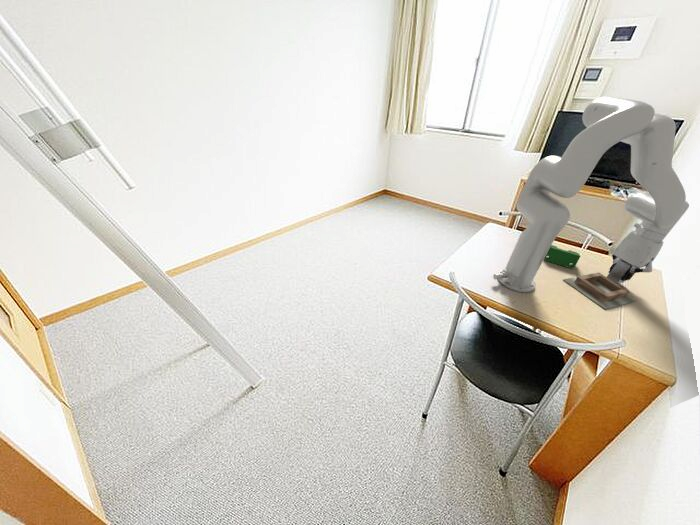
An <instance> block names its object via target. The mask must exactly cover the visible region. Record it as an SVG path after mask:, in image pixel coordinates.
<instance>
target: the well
mask: <svg viewBox="0 0 700 525" xmlns="http://www.w3.org/2000/svg"><path fill="white" fill-rule="evenodd" d="M563 282H565V283H566V284H567V285H569V286H571V287H572V288H573V287H574V288H573V289H574V290H576V289H577V290H578V291H577V290H576V291H577V292H578V293H580V294H582V295H583V296H585V297H586V298H587V299H589V300H590V301H591V302H593V303H594V304H596V305H598V306H599V307H600V308H602V309H604V310H608V309H613V308H615V307H619V306H623V305H628V304H631V303H635V302H637V301H638V299H636V298H634V297H633V296H631V295H630V294H629V293H630V290H628V289H626V288H625V287H624V286H622V285H620V284H619V283H618V284H617V283H615V282H614V281H612V280H610V279H609V278H607V276H605V275H604V274H602V273H601V272H596V273H595V272H594V273H593V272H592V273H587V274H582V275H579V276H573V277H568V278H564V279H563Z"/></svg>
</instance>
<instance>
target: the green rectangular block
mask: <svg viewBox="0 0 700 525" xmlns="http://www.w3.org/2000/svg"><path fill="white" fill-rule="evenodd" d="M580 258H581V255H580V253H579V252H577V251H573V250H565V249H562V248H560V247H558V245H557V246H556V245H553V244H552V245H551V247H550V249H549V250H548V252H547V254H546V256H545V258H544V260H543V261H547V262H550V263H553V264H556V265H559V266H563V267H566V268H570V269H574V268H576V266H577V264H578V262H579V260H580Z"/></svg>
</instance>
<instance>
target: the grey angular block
mask: <svg viewBox="0 0 700 525" xmlns="http://www.w3.org/2000/svg"><path fill="white" fill-rule="evenodd" d="M631 267H632V265H631V264H629V263H627V262H625V261H624V260H622V259H621V260H619V261H618V262H617V263H616V265H615V266H614V268H613V269H612V270H611V272H610V273H608V274H607V276H606V277H607V278H609V279H610V280H612V281H614V282H615V283H617V284H618V285H619V284H622V283H625V282H626V281H622V280H621V279H622V278H623V276H624V275H625V274H626V272H628V271H630V269H631Z"/></svg>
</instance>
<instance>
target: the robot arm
mask: <svg viewBox="0 0 700 525" xmlns="http://www.w3.org/2000/svg"><path fill="white" fill-rule="evenodd" d="M581 116H582V118H581V119H582V123H583V125H584V126H585V128H584V129H583V130H581V131H580V132H579V133H578V134H577V135H576V136H575V137H574V138H572V140H571V141H570V143H569V144H568V146H567V148H566V150H565V151H564V152H563V154H562V156H559V155H549V156H545V157H544V158H541V159H540V160H539V161H538V162H537V163H536V164H535V165H534V166H533V167H532V170H531V171H530V172H529V175H528V177H527V178H526V181H525V184H524V185H523V187H522V189H521V191H520V193H519V195H518V197H517V200H516V209H517V211H518V212H519V213H520V214H521V216H522V217H524V218H525V219H527V221H528V222H530V225H529V226H528V227H527V228H525V229H524V230H523V231H521V233H520V235H519V236H518V239H517V242H516V243H515V245H514V248H513V250H512V252H511V255H510V256H509V259H508V261H507V264H506V266H505V268H503V269H501V270H499V271H498V272H497V273H495V274H493V277H492V278H493V279H494V280H498V281H499V282H500V284H502V285H503V286H504V287H505V288H508V289H509V290H512V291H515V292H518V293H519V292H520V293H530V292H533V291H534V289H535V288H536V281H535V280H534V279H535V277H536V275H537V273H538V271H539V270H540V268H541V266H542V264H543V262H544V261H545V260H544V258H545V256H546V254H547V252H548V250H549V249H550V247H551V245H553V243H554V241H555V240H556V238H557V236H558V235H559V234H560V232H561V231H562V230H563V229H564V228H565V227H566V226H567V225H568V223H569V220H570V219H571V218H570V217H571V212H570V210H569V208H568V206H566V205H565V203H563V202H562V201H560V200H559V199H558V198H556V197H554V196H552V195H550V193H552V194H554V195H555V196H557V197H560V198H562V199H568V198H572V197H575V196H576V195H578V193H579V192H580V191H581V190H582V189H583V187H584V186H585V184H586V182H587V180H588V179H589V177H590V176H591V174H592V172H593V170H594V169H595V168H596V166H597V164H598V163H599V161H600V160H601V158H602V156H603V155H604V154H605V153H606V152H607V151H608V150H609V149H610V148H611V147H613V146H614V145H617V144H618V143H619V142H622V143H624V144H627V145H630V174H631V176H632V178H633V179H635V181H636V182H637V183H638V184H639V185H640V186H642V188H644V190H646V191H647V192H639V193H635V194H632V195H631V196H629V197H628V198H627V199H626V200H625V201H624V204H623V205H624V206H623V207H624V211H626V213H628V214H629V215H631V216H633V217H635V218H637V219H639V220H640V221H641V223H637V222H636V223H634V225H633V227H634V228H635V230H631V231H630V232H629V233H628V234H626V236H625V237H624V238H623V239H622V240H621V241H620V242H619V244H618V245H617V246H616V247H614V248H611V249H609V253H610V254H611V258H612V265H611V266H610V267H609V270H608V274H609V273H610V272H611V270H612V269H613V268H614V266H615V265H616V263H617V262H618V261H619V260H621V259H622V260H624V261H625V262H627V263H629V264H631V265H632V267H631V269H630V271H628V272H626V274H625V275H624V276H623V278H622V279H621V280H622V281H625V282H626V281H630V280H631V279H632V278H633V276H635V274H636V273H637V274H638V273H646V274H647V273H652V272H653V262H654V261H655V259H656V258H657V256H658V255H659V253H660V251H661V249H662V247H663V245H664V239H666V237H667V236H668V234H669V233H670V232H671V231H672V230H673V228H674V227H675V226H676V224H678V222H679V220H681V218H682V217H683V216H684V214H685V213H686V212H687V210H688V209H689V207H690V204H689V202H688V201H687V200H686V199H687V198H686V197H687V196H686V191H685V188H684V186H683V183H681V180H680V178H679V176H678V175H677V172H676V171H675V170H674V168H673V165H672V164H673V156H674V155H673V154H674V146H675V137H676V129H677V127H676V122H675V121H674V119H673V118H672V117H670V116H667V115H664V114H661V113H656V112H655V109H654V107H653V106H652V105H651V104H649V103H646V102H645V101H644V102H643V101H640V100H636V99H635V100H634V99H628V98H622V97H621V98H620V97H614V96H600V97H598V98H596V99H594V100H592V101H591V102H590V103H589V104H588V105H587V106H586V107H585V109H584V110H583V113H582V115H581ZM546 257H547V256H546ZM644 267H645V268H644Z"/></svg>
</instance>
